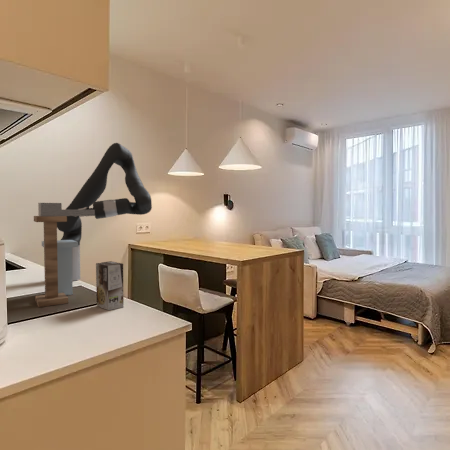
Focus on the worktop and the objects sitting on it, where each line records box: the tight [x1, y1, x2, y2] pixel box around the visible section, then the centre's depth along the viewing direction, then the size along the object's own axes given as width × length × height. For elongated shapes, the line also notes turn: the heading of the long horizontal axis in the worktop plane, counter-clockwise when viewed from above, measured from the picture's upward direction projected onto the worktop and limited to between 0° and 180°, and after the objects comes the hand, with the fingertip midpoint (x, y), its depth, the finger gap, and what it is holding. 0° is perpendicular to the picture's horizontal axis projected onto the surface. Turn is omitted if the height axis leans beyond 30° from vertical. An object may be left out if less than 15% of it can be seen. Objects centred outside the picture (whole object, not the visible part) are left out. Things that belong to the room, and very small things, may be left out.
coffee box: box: [95, 260, 125, 311], centre depth 127 cm, size 9×6×16 cm
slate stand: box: [41, 239, 78, 296], centre depth 145 cm, size 12×12×22 cm
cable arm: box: [37, 202, 95, 217], centre depth 135 cm, size 7×20×5 cm, turn 124°
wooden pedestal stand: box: [33, 215, 69, 308], centre depth 132 cm, size 10×10×33 cm
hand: (65, 214), depth 147 cm, fingers open, 8 cm apart
